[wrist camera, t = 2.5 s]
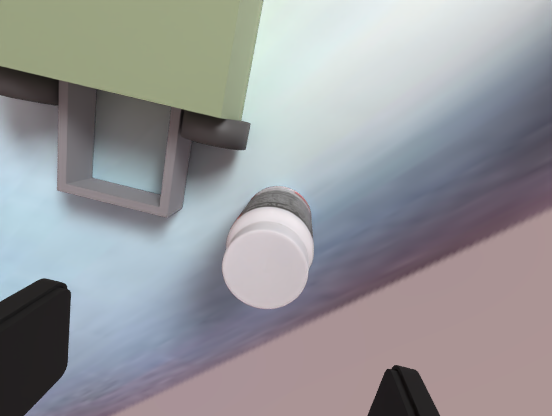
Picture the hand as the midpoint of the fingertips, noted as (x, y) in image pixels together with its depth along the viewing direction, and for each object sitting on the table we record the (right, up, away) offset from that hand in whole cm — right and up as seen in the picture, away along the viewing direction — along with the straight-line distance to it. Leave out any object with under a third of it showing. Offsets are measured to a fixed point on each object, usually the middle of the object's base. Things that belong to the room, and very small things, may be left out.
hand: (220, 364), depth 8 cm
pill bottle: (+2, +4, +13) cm, 14 cm away
